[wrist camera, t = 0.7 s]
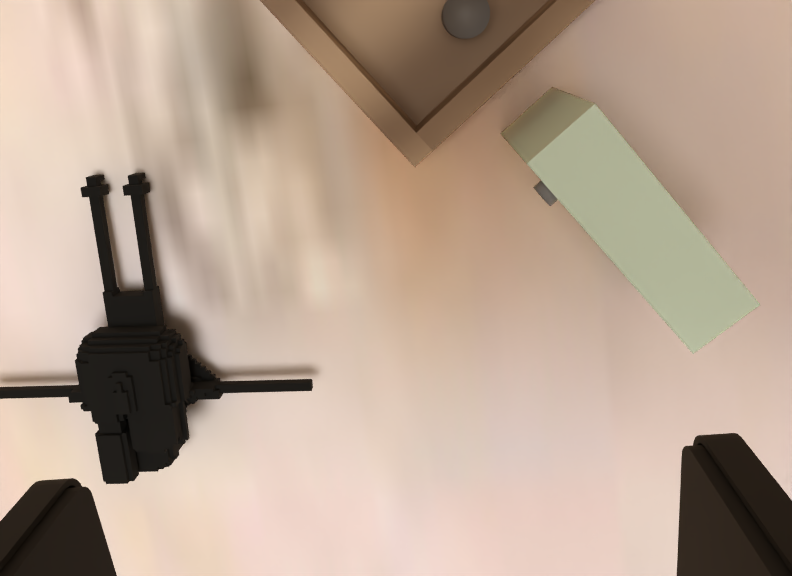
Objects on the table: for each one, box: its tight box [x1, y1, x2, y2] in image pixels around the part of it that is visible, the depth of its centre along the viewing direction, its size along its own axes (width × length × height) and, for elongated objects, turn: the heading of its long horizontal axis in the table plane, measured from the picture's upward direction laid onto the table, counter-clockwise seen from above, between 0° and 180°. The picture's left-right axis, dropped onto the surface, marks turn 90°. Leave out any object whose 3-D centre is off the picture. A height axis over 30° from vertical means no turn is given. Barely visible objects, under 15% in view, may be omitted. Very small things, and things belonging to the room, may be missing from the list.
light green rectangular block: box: [501, 87, 760, 354], centre depth 29 cm, size 10×3×8 cm, turn 43°
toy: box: [0, 173, 313, 484], centre depth 34 cm, size 17×5×15 cm
